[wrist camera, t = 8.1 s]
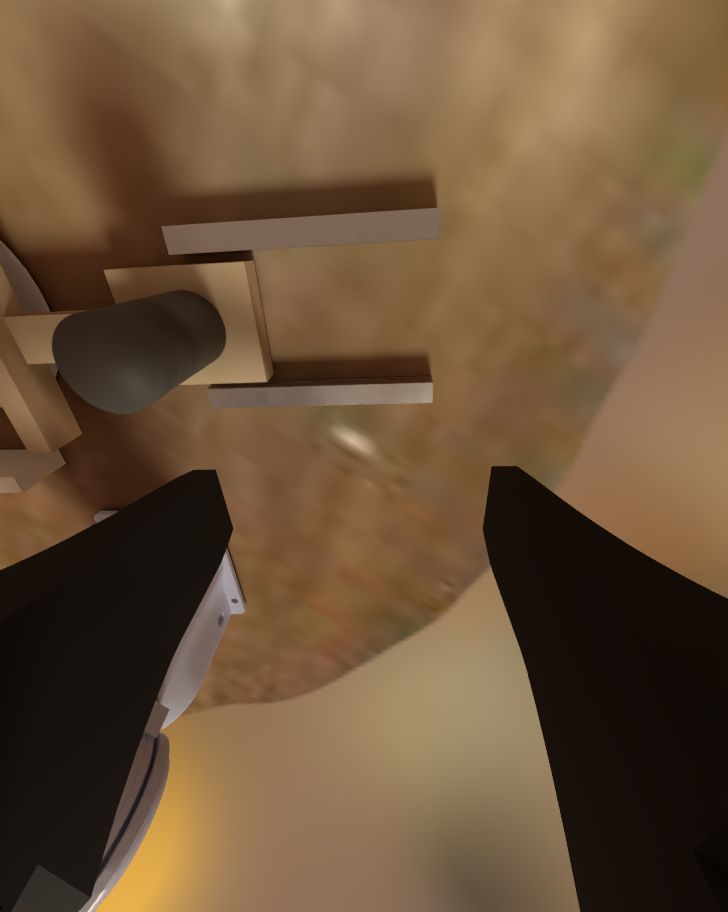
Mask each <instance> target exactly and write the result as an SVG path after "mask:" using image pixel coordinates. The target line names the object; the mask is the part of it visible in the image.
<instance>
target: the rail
mask: <svg viewBox="0 0 728 912" xmlns="http://www.w3.org/2000/svg"><path fill="white" fill-rule="evenodd" d="M440 211H441V208H426V209H411V210H396V211H381V212H367V213H352V214H337V215H322V216H307V217H292V218H277V219H262V220H247V221H233V222H218V223H203V224H188V225H173V226H161V228H162V232H163V235H164V239H165V243H166V246H167V250H168V253H169V255H175V254H192V253H208V252H225V251H241V250H258V249H274V248H291V247H307V246H324V245H340V244H357V243H373V242H390V241H406V240H423V239H439V235H440ZM206 390H207V394H208V397H209V401H210V404H211V408H242V407H281V406H320V405H359V404H398V403H432V398H433V380H432V377H431V376H410V377H378V378H346V379H314V380H282V381H267V382H255V383H223V384H212V385H211V386H210V387H209V388H207V389H206Z"/></svg>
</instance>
